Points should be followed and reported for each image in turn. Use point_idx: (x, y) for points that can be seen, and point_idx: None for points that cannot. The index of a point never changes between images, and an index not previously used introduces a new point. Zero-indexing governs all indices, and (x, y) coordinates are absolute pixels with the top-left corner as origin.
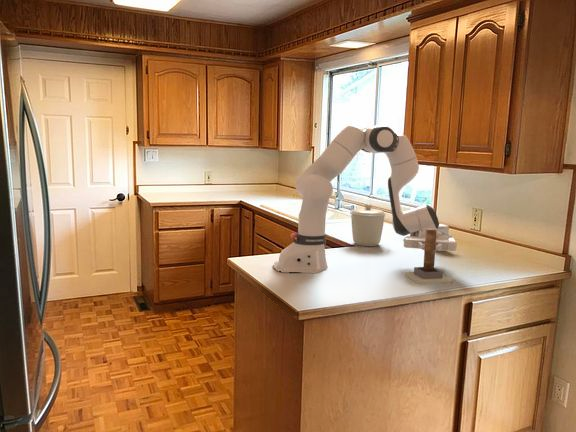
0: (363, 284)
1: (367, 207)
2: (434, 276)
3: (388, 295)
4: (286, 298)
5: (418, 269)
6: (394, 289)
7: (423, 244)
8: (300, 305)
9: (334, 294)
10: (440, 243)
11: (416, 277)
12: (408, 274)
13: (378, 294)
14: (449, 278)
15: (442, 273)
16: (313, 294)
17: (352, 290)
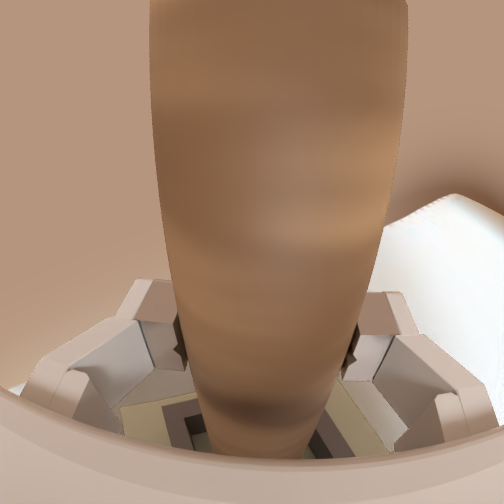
0: (478, 295)
1: None
2: None
3: (381, 242)
4: (499, 215)
5: (335, 433)
6: (385, 280)
7: (376, 311)
8: (467, 201)
9: (471, 232)
10: (40, 402)
11: (332, 409)
12: (385, 451)
13: (405, 244)
14: (126, 428)
15: (164, 410)
16: (492, 229)
17: (465, 254)
